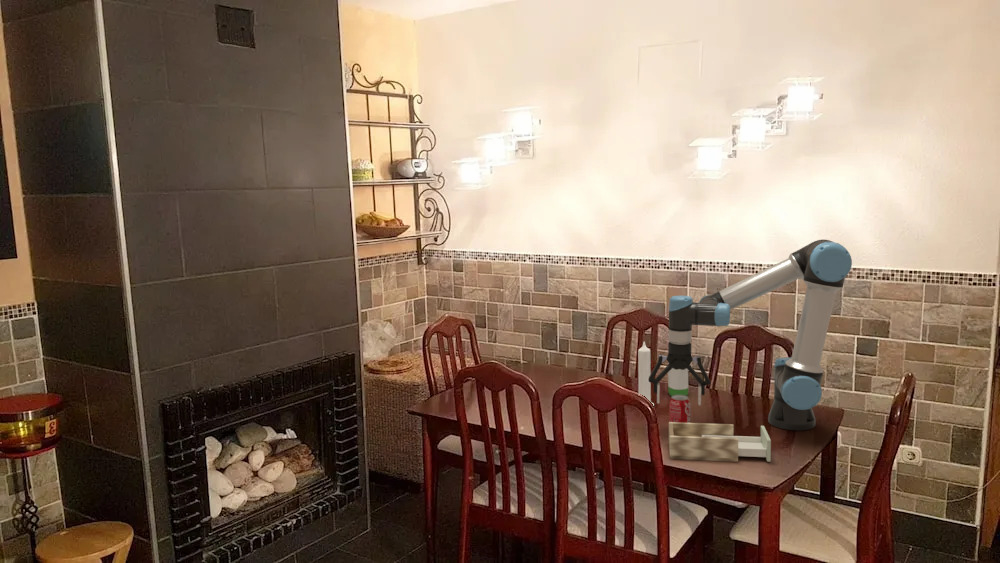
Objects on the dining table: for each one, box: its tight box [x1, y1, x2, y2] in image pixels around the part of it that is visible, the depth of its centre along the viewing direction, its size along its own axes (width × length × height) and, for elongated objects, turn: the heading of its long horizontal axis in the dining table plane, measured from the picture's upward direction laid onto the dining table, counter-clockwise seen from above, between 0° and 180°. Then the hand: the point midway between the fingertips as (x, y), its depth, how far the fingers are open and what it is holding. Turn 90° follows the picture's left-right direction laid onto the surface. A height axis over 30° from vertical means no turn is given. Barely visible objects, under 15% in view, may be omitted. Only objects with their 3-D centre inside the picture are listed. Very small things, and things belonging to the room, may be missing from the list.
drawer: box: [702, 425, 772, 463], centre depth 220 cm, size 19×13×7 cm
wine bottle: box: [667, 361, 689, 396], centre depth 281 cm, size 8×8×30 cm
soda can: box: [668, 395, 692, 423], centre depth 241 cm, size 7×7×12 cm
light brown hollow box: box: [668, 422, 739, 463], centre depth 223 cm, size 20×14×7 cm
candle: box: [637, 341, 655, 407], centre depth 269 cm, size 7×7×25 cm
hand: (678, 403), depth 241 cm, fingers open, 13 cm apart
